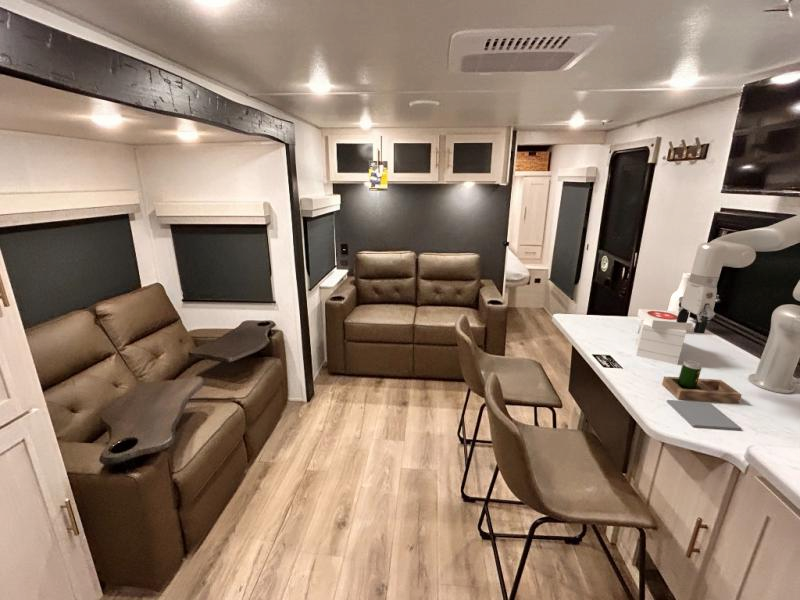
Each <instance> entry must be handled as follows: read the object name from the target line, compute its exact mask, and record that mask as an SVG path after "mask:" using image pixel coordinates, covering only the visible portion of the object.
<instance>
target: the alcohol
mask: <svg viewBox="0 0 800 600" xmlns="http://www.w3.org/2000/svg"><path fill="white" fill-rule="evenodd" d="M690 275H691V272H683V273H682V277H681V281H680V283H679V286H678V289H677V290H675V292H673V293H672V295H671V296H670V300H669V303H668V308H667V311H675V312H677V313H678V314H679V312H680V311H679V298H680V297H683V295H684V292H685V289H686V287H687V285H688V283H689V278H690ZM688 312H689V313H690V311H688Z"/></svg>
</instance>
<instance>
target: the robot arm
mask: <svg viewBox="0 0 800 600" xmlns="http://www.w3.org/2000/svg"><path fill="white" fill-rule="evenodd" d="M798 243H800V213H799V214H797V215H795V216H792V217H790V218H786V219H784V220H781V221H779V222H777V223H773V224H772V225H771V224H770V225H769V226H765V227H759V228H753V229H747V230H741V231H735V232H732V233H731V232H730V233H728V234H727V233H726V234H724V235H722V236H720V237H716V238H715V239H712V240H711V241H709V242H702V243H700V244H699V245H698V247H697V249H696V253H695V257H694V260H693V265H692V269H691V271H690V273H691V275H690V278H689V283H688V285H687V287H686V289H685V292H684V295H683V297H680V298H679V311H680V312H679V314H678V317H677V322H679V323H686V322H687V320H689V316H690V313H692V314H694V315H696V317H697V320H696V321H695V325H694V328H693V333H694V334H705V332H706V329H707V325H708V324H709V323H710V321H712V319H713V318H714V317H715V315H716V313H715V311H714V308H715V304H716V300H717V293H718V287H717V286H718V282H719V280H720V275H721V271H722V270H723V269H722V268H723V267H729V268H730V267H731V268H739V269H740V268H745V267H748V266H750V265H752V264H753V262H754V261H755V260H756V257H757V254H756V253H757V252H776V251H781V250H784V249H787V248H789V247H790V246H794V245H796V244H798ZM792 297H793V298H794V299H795V300H796V301H799V302H800V279H799V280H798V282H797V284H796V286H795V287H794V288H793V291H792ZM688 311H689V312H688ZM770 321H771V322H770V330H769V334H768V338H767V340H766V343H765V346H764V349H763V352H762V354H761V357H760V361H759V363H758V366H757V368H756V371H755V373H752V374H750V375H748V378H747V379H748V381H749V382H750V383H752V384H753V385H755V386H757V387H758V388H761V389H764V390H767V391H770V392H775V393H780V394H791V393H794V391H795V388H794V386H793V385H794V384H798V385H800V378H798V377H797V378H795V377H794V374H795V371H796V367H797V366H798V363H799V361H800V305H798V304H792V303H791V304H782V305H779V306H778V307H776V308H775V309H774V310H773V312H772V314H771V319H770Z"/></svg>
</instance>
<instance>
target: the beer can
mask: <svg viewBox="0 0 800 600" xmlns="http://www.w3.org/2000/svg"><path fill="white" fill-rule="evenodd" d="M702 366H703V365H702V363H700V362H698V361H696V360H691V359H685V360H684V361H683V363H682V365H681V368H680V372H679V376H678V377H679V379H678V382H677V385H679V386H680V387H681V388H682V389H694V390H695V388H696V385H697V382H698V379H700V375H701V371H702Z"/></svg>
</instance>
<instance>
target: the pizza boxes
mask: <svg viewBox="0 0 800 600" xmlns="http://www.w3.org/2000/svg"><path fill="white" fill-rule="evenodd" d="M637 317H639V318H640V319H641V320H640V322H639V323H640V324H639V325H638V329H637V332H636V333H637V335H638V337H637V341H636V345H637V346H636V347H635V348H636V350H635V352H636V353H635V356H636V357H638V358H639V357H640V358H646V359H648V360H655V361H659V362H664V363H667V364H671V365H678V363H679V361H680V357H681V352H682V350H683V346H684V341H685V338H686V334H687V331H692V330H693V325H694V322H692V321H691V320H689V319H687V322H686V323H679V322H677V317H678V313H677V312H675V311H668V310H662V309H648V308H638V312H637Z"/></svg>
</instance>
